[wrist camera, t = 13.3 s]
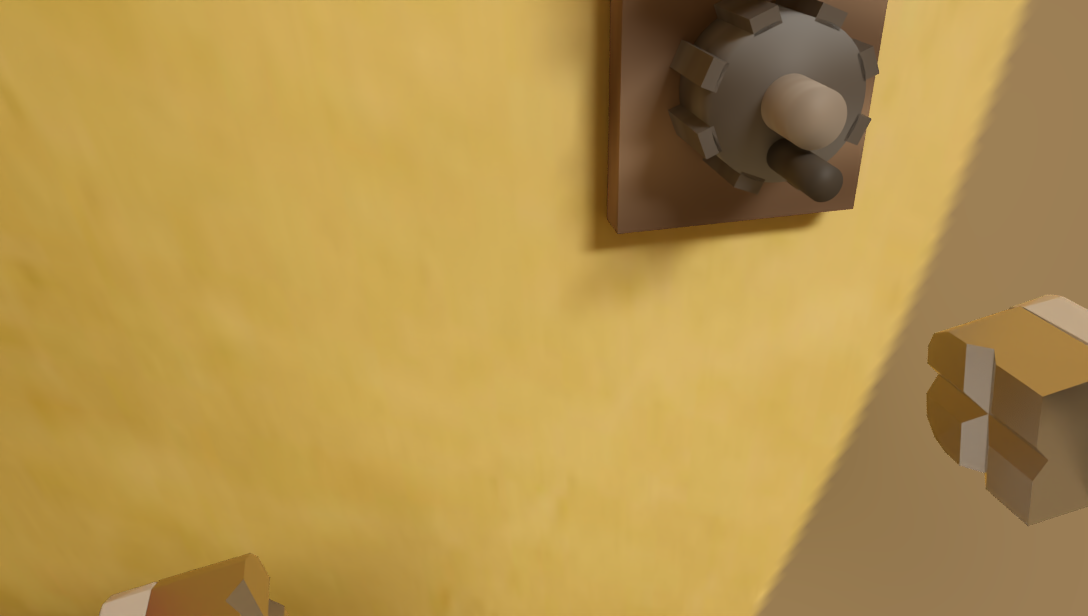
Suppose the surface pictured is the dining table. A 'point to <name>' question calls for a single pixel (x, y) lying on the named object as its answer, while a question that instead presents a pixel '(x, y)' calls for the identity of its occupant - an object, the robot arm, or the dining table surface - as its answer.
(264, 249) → the dining table surface
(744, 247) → the dining table surface
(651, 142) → the gear board
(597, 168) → the dining table surface
